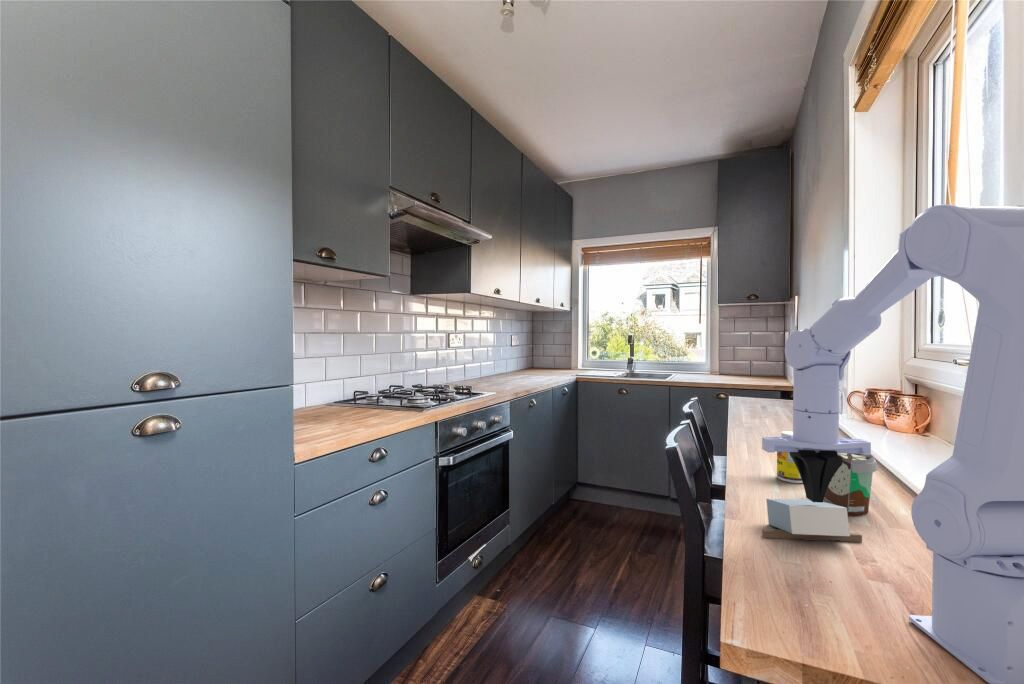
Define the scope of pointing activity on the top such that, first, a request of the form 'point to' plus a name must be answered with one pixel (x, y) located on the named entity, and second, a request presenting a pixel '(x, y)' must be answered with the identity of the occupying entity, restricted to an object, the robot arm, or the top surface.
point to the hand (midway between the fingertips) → (814, 500)
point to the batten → (809, 536)
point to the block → (808, 517)
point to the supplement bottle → (787, 465)
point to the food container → (852, 483)
